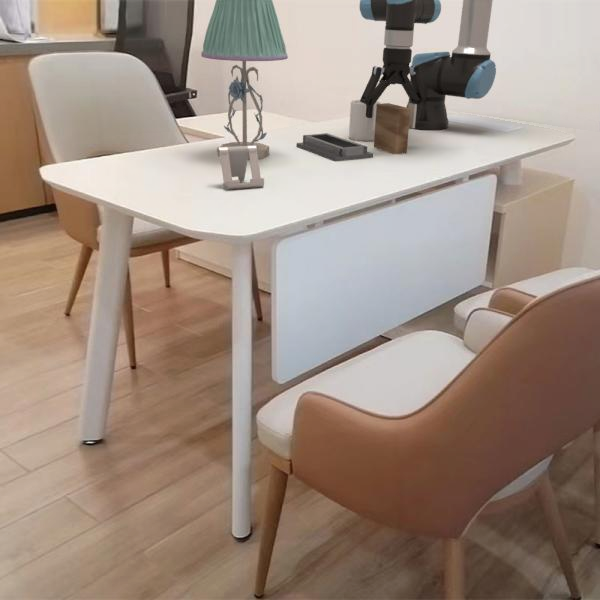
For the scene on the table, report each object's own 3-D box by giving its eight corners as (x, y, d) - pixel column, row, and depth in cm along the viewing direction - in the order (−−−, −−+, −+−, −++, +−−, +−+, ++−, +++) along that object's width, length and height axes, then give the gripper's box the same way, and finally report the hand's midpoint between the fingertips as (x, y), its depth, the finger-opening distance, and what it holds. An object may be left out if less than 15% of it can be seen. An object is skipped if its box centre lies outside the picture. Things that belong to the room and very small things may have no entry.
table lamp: (186, 153, 193) (181, -12, 178) (246, 143, 208) (246, -11, 192) (242, 168, 180) (242, -10, 164) (302, 155, 195) (307, -8, 179)
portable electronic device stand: (227, 191, 160) (226, 152, 157) (215, 182, 167) (215, 145, 163) (264, 188, 163) (264, 150, 160) (251, 179, 170) (251, 143, 166)
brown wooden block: (385, 146, 210) (388, 103, 205) (406, 153, 202) (410, 108, 197) (373, 147, 208) (376, 103, 203) (395, 154, 200) (398, 109, 195)
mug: (390, 137, 222) (393, 101, 217) (365, 142, 213) (368, 105, 209) (367, 133, 227) (370, 97, 223) (342, 138, 219) (344, 101, 215)
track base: (332, 143, 211) (333, 132, 210) (373, 157, 195) (373, 146, 194) (296, 146, 206) (296, 135, 204) (335, 161, 190) (335, 149, 189)
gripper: (425, 46, 203) (418, 124, 211) (350, 46, 191) (345, 128, 199) (443, 48, 197) (435, 128, 205) (367, 48, 185) (361, 133, 193)
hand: (390, 129), depth 202 cm, fingers open, 13 cm apart
